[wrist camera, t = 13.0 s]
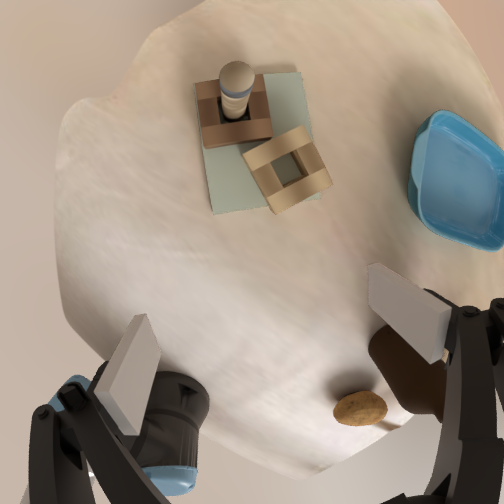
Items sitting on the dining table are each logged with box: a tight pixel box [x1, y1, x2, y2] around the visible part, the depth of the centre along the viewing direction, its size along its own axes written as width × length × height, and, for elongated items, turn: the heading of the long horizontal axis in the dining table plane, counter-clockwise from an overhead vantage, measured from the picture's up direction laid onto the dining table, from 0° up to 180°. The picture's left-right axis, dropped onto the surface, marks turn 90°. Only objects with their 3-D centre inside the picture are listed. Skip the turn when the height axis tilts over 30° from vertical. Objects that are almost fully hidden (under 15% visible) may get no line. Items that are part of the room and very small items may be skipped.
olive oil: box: [369, 325, 447, 423], centre depth 38 cm, size 11×11×25 cm
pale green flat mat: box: [193, 72, 321, 215], centre depth 37 cm, size 16×20×1 cm
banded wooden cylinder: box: [219, 61, 255, 123], centre depth 27 cm, size 3×3×16 cm
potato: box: [333, 390, 388, 426], centre depth 50 cm, size 10×14×8 cm
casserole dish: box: [408, 110, 504, 252], centre depth 39 cm, size 37×22×7 cm, turn 80°
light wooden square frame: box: [241, 125, 333, 215], centre depth 36 cm, size 9×9×4 cm
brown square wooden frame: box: [195, 74, 274, 149], centre depth 33 cm, size 9×9×4 cm
